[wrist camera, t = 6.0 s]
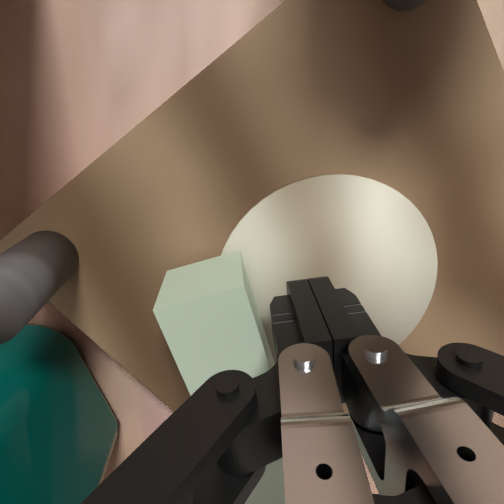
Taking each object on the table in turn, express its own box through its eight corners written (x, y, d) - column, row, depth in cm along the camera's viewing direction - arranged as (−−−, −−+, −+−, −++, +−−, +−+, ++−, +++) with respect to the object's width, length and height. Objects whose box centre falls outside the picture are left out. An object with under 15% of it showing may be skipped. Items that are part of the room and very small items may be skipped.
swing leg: (302, 452, 17) (316, 514, 14) (246, 467, 17) (250, 531, 14) (239, 250, 13) (243, 284, 10) (166, 270, 13) (152, 310, 10)
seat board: (397, -84, 12) (705, -430, 4) (557, 293, 18) (797, 423, 10) (18, 232, 15) (-196, 356, 7) (267, 462, 21) (293, 659, 13)
